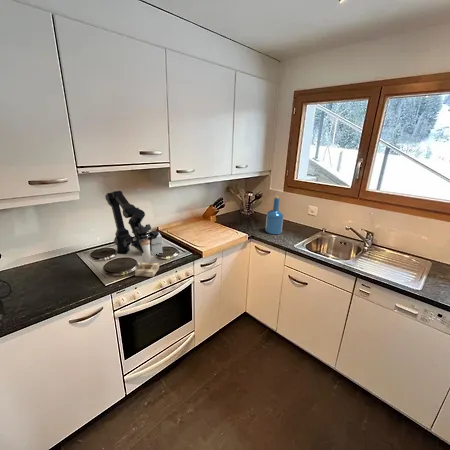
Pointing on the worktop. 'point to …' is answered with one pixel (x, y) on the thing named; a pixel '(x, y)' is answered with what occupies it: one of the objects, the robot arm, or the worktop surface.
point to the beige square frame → (147, 269)
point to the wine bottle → (274, 219)
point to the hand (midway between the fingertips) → (147, 251)
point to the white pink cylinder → (146, 251)
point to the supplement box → (156, 245)
